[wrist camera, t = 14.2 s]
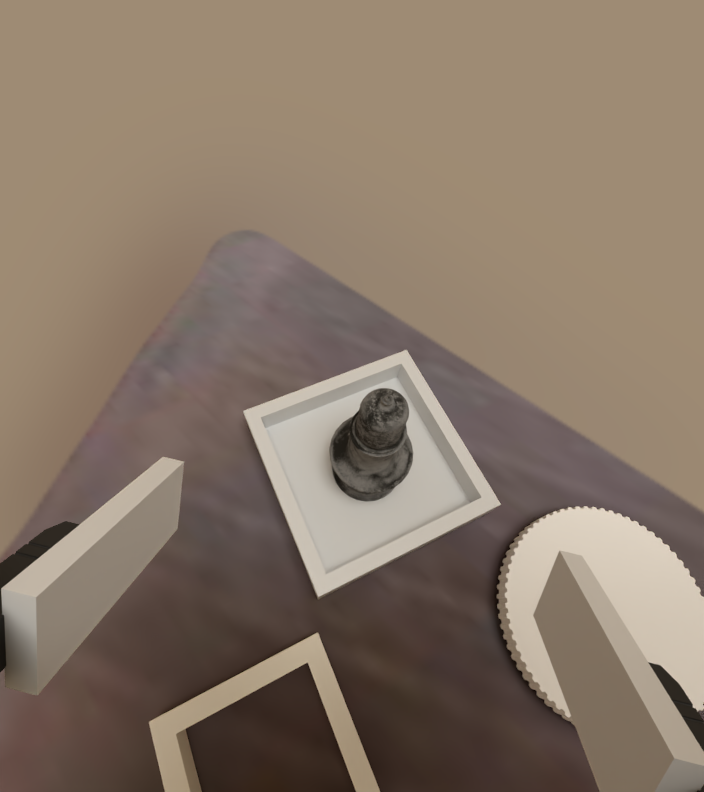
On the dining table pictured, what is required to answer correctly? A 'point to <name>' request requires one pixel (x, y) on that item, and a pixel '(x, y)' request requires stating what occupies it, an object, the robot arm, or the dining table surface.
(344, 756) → the socket collar
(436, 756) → the dining table surface
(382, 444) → the chess piece
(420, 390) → the parts tray
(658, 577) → the cream gear
